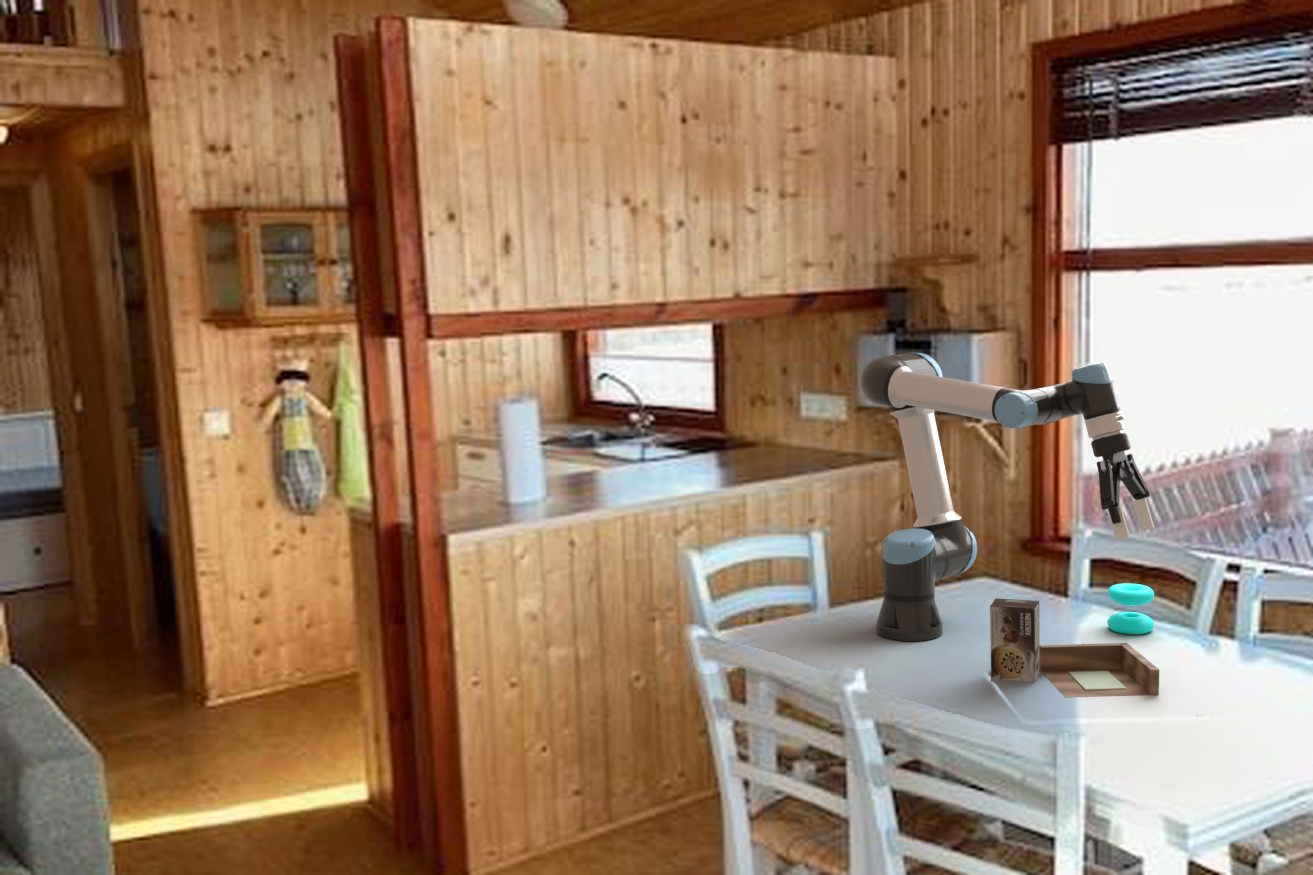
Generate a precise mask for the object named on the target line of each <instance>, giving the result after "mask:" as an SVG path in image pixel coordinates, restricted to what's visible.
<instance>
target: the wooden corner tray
mask: <svg viewBox="0 0 1313 875" xmlns="http://www.w3.org/2000/svg"><path fill="white" fill-rule="evenodd" d="M1039 647H1040V649H1039V651H1040V673H1042V674H1043V675H1044V676H1045V677H1046V678H1047V679H1048V681H1049V682H1050V683H1051V684H1052V685H1053V687H1055V688H1056V689H1057V690H1058V692H1060V693H1061V695H1062V696H1063V697H1064V698H1089V697H1092V698H1093V697H1094V698H1095V697H1096V698H1097V697H1099V698H1100V697H1126V696H1127V697H1128V696H1129V697H1130V696H1159V695H1160V669H1159V668H1158V667H1157V666H1156V665H1155V664H1153V663H1152V662H1150V661H1149V660H1148V659H1147V658H1146V657H1145V656H1144V655H1142V654H1141V653H1140V652H1138V651H1137V650H1136V649H1135V648H1134V647H1132V646H1131V645H1130V643H1128V642H1113V643H1112V642H1109V643H1106V642H1105V643H1080V644H1079V643H1072V644H1068V643H1067V644H1041V645H1040V644H1039ZM1081 671H1109V672H1110V673H1111V674H1112V675H1113V676H1114V677H1115V678H1116V679H1117V680H1118V681H1119V682H1121V683H1122V684H1123V685H1124V686H1125V687H1126V688H1127V689H1126V690H1091V691H1085V690H1084V689H1083V688H1082V687H1081V686H1080V685H1079V684H1078V683H1077V681H1076V680H1075V679H1074V678H1073V677H1072V676H1071V675H1070V674H1069V673H1068V672H1081Z"/></svg>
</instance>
